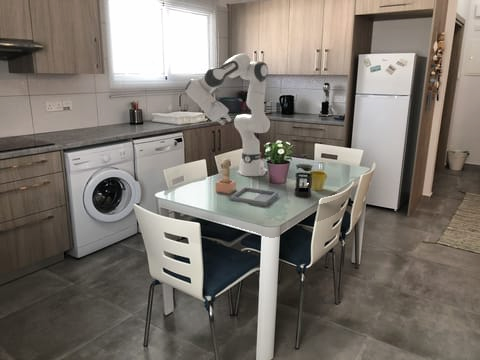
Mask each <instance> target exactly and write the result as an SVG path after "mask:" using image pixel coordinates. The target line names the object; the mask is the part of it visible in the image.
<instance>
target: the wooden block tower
mask: <svg viewBox="0 0 480 360" xmlns="http://www.w3.org/2000/svg"><path fill="white" fill-rule="evenodd" d="M230 161H231V159H230V158H222V162H221V163H222V164H221V165H222V168H221V169H222V173H221V175H222V176H221V177H222V178H221V179H222V183H227V184H229V180H230V173H231V172H230V171H231V170H230V169H231V168H230V166H231V165H230V164H231V163H230Z"/></svg>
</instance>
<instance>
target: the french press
mask: <svg viewBox="0 0 480 360" xmlns="http://www.w3.org/2000/svg"><path fill="white" fill-rule="evenodd" d="M300 156H302V157H303V158H304V159H303V163H298V164H296V166H295V167H296V170H298V169H302V171H303V172H301V171H300V172H296V173H295V175H294V176H295V180H296V181H295V188H294V194H293V195H294V196H295V197H297V198H301V199H308V198H311V196H312V189H311V185H312V173H309V172H310V171H313V170H312V168H313V167H314V166H313V165H312V164H309V163H308V164H307V163H306V158H307V157H309V154H304V153H303V154H301V155H300ZM301 180H302V181H301ZM304 180H306V182H305V181H304ZM300 181H301V182H300Z"/></svg>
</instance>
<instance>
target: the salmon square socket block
mask: <svg viewBox="0 0 480 360" xmlns="http://www.w3.org/2000/svg"><path fill="white" fill-rule="evenodd" d="M236 186H237V180H233V179H229V184H227V183H222V178H221V179H220V180H218V181H216V182H215V192H217V193H225V194H231V193H233V192H235V191H236V188H237V187H236Z"/></svg>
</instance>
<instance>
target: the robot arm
mask: <svg viewBox="0 0 480 360" xmlns="http://www.w3.org/2000/svg"><path fill="white" fill-rule="evenodd" d="M268 73H269V68H268V65H267V63H265V62H263V61H252V60H251V58H250V56H249V55H248V54H247V53H244V52H242V53H238V54H236V55H233V56H232V57H230V58H228V59H227V60H226V61H225V62H224V63H223V64H222V65H221V66H218V67H217V66H216V67H215V66H214V67H210V68H209V69H208V70H207V71H206V73H204V74H203V75H202V76H201V77H199V78H196V79H195V78H191V79H190V80H189V81H188V83H187V84H186V85H185V86H184V87H185V88H184V91H185V93H186V94H187V96H188V97H189V98H190V99H191V100H192V101H193V102H195V103H196V104H197V105H198V106H199V108H200V109H201V110H200V112H201V114H203V115H205V117H207V118H208V119H209V120H210V121H211V122H213V123H214V122H218V123H219V124H221V125H222V126H223V125H225V124H226V121H227V122H229V123H230V122H231V121H232V118H231V117H230V115H229V112H230V110H229V108H228V107H227V106H226V105H225V104H223V103H222V102H220V101H217V100H216V99H215V97H214V96H212V95H211V93H213V92H214V91H215V90H216V89H217V88H218V87H219V86H221V85H222V84H224V82H225V80H226V78H230V79H234V78H237V79H240V80H242V81H243V80H244V81H245V80H246V81H249V85H248V90H247V96H246V101H245V102H246V103H245V104H246V106H247V107H248V108H249V109H250V111H251V114H248V113H241V114H238V115H236V116H235V118H234V120H233V124H234V127H235V129H236V130H237V131H238V133H239V134H240V135H239V136H240V138H241V141H242V153H241V160H239V169H238V170H237V173H238V174H240V175H241V176H245V177H262V176H263V177H264V176H265V174H266V173H267V172H268V169H267V168H265V164H264V161H263V160H262V158H261V156H262V152H261V151H260V147H261V146H260V139H258V138H257V137H256V135H255V133H256V134H263V133H267V132H268V131H269V130H270V127H271V121H270V119H269V118H268V117H267V115H266V112H265V108H264V107H265V105H264V104H265V97H266V88H267V85H266V84H267V83H266V82H267V81H266V78H267V76H268ZM222 117H224V118H225V119H226V121H224V120H222V119H221V118H222Z"/></svg>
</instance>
